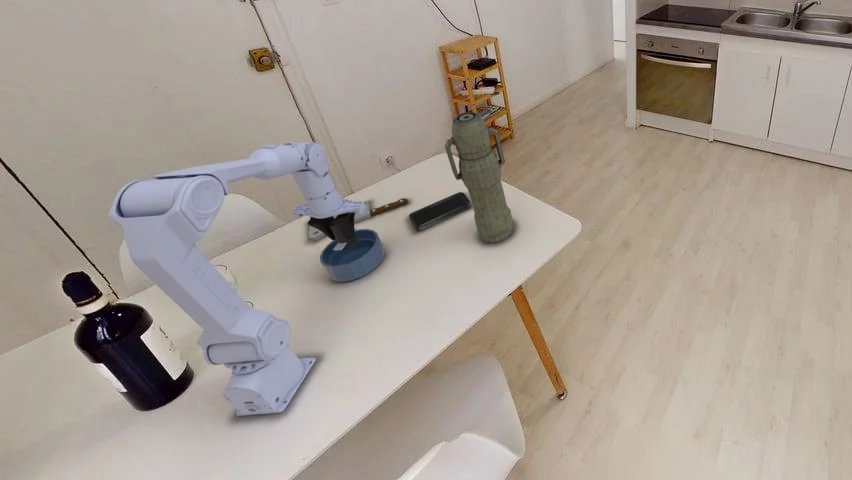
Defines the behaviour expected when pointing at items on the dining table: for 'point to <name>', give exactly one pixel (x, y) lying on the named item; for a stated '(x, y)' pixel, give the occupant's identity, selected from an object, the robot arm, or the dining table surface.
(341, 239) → the blade unit
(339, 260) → the blue round bowl
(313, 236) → the kitchen cleaver
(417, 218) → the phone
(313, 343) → the dining table surface
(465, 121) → the thermos
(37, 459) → the dining table surface
